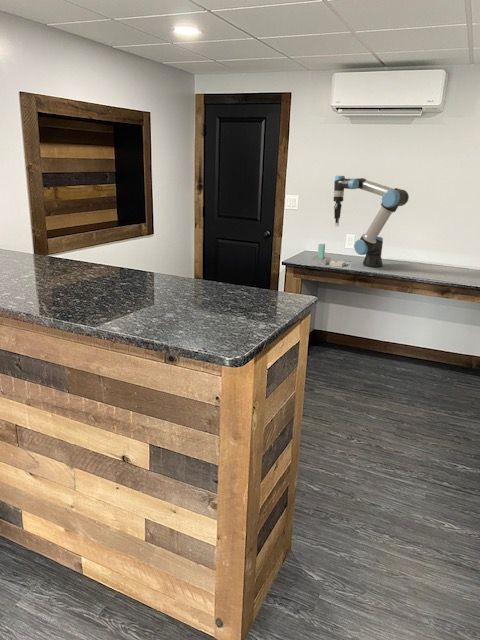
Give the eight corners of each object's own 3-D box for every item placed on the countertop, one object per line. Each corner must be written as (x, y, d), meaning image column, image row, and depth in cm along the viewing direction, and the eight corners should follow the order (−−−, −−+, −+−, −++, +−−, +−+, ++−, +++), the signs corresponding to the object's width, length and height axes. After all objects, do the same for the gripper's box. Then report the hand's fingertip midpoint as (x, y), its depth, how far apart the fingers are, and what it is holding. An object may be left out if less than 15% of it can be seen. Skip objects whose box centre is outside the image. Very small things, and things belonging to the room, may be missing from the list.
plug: (323, 262, 404) (325, 244, 399) (322, 263, 400) (323, 244, 396) (319, 262, 406) (320, 243, 401) (317, 262, 402) (318, 244, 397)
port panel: (330, 262, 405) (330, 256, 404) (325, 265, 395) (325, 259, 394) (316, 260, 411) (316, 255, 409) (310, 263, 401) (311, 257, 399)
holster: (345, 264, 399) (345, 261, 398) (341, 266, 390) (342, 263, 390) (333, 263, 403) (333, 259, 402) (329, 265, 395) (329, 262, 394)
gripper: (336, 195, 399) (334, 225, 407) (331, 196, 388) (329, 227, 395) (345, 195, 396) (343, 226, 403) (341, 196, 385) (339, 228, 392)
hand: (336, 226), depth 399 cm, fingers closed
